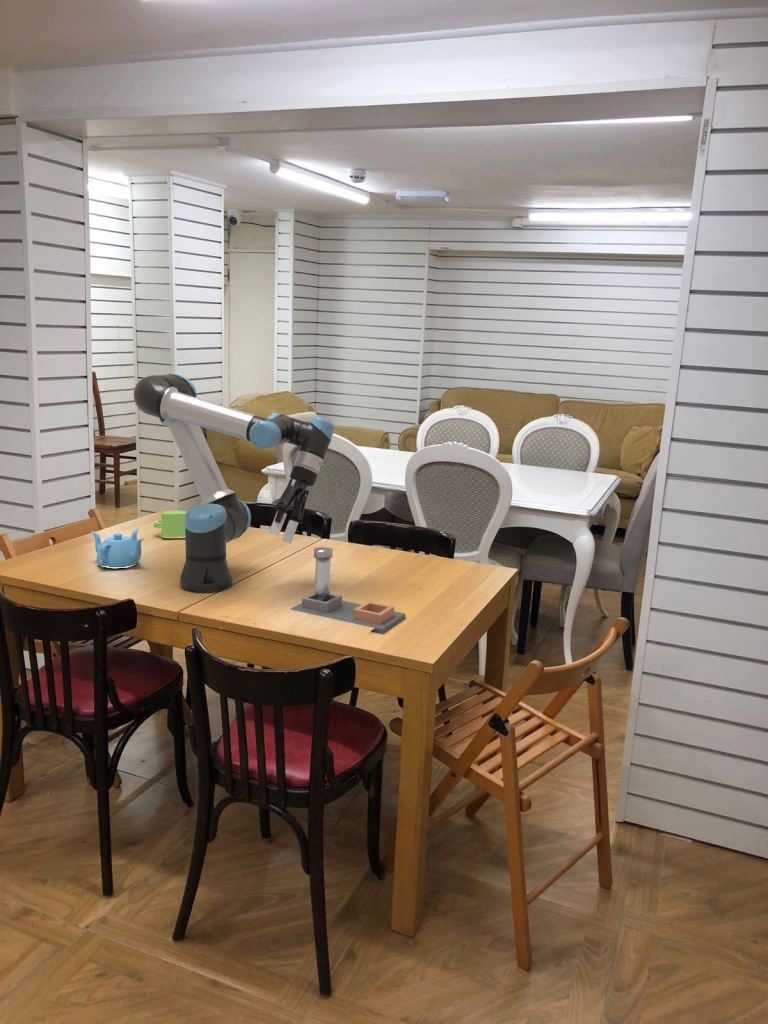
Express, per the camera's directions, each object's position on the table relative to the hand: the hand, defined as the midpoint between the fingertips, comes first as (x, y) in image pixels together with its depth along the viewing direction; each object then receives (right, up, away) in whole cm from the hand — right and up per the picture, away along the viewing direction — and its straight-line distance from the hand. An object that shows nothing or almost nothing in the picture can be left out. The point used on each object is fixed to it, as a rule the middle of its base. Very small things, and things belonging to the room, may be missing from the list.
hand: (280, 538), depth 223 cm
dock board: (+20, -20, -13) cm, 31 cm away
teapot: (-54, -9, +26) cm, 61 cm away
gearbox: (-45, -2, +63) cm, 77 cm away
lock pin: (+13, -18, -9) cm, 24 cm away
